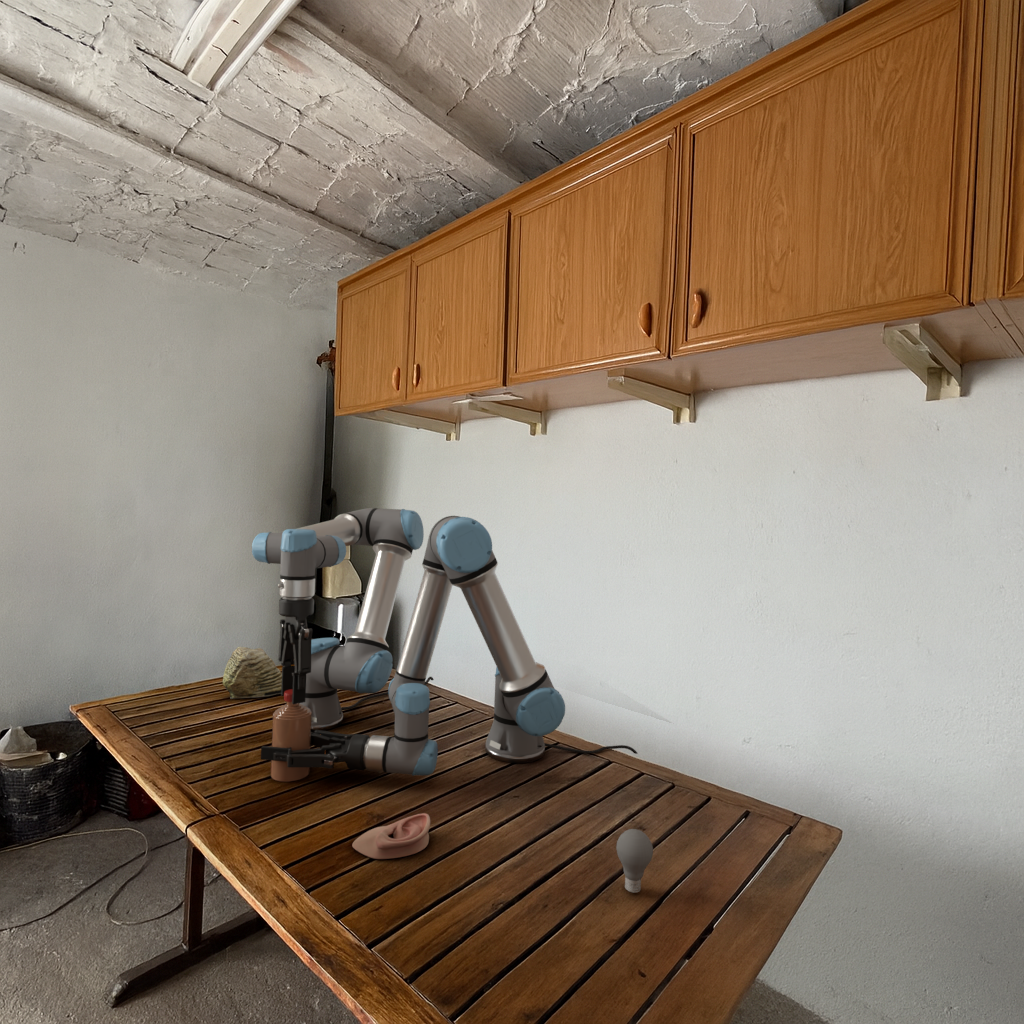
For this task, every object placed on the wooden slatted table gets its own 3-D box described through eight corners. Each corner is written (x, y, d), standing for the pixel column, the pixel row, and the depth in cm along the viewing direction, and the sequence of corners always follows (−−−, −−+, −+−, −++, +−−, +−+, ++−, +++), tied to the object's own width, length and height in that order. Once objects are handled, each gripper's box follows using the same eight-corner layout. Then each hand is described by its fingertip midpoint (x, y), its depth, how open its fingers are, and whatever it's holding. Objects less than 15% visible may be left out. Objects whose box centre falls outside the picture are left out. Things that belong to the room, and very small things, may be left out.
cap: (305, 699, 144) (305, 691, 144) (289, 703, 141) (289, 695, 141) (296, 695, 147) (297, 687, 147) (280, 699, 144) (280, 691, 144)
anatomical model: (345, 832, 112) (372, 802, 124) (344, 854, 113) (371, 822, 124) (415, 843, 110) (436, 812, 121) (414, 866, 110) (436, 832, 121)
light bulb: (610, 879, 108) (613, 822, 108) (644, 879, 109) (647, 822, 109) (619, 902, 102) (622, 840, 102) (655, 901, 103) (658, 840, 103)
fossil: (218, 695, 195) (220, 647, 195) (278, 685, 208) (279, 640, 207) (228, 703, 189) (230, 653, 188) (289, 692, 201) (290, 645, 201)
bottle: (271, 783, 139) (274, 701, 138) (269, 768, 146) (272, 689, 146) (311, 778, 142) (314, 697, 142) (307, 763, 150) (310, 687, 149)
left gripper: (265, 592, 148) (262, 690, 149) (296, 605, 134) (292, 713, 134) (297, 590, 153) (293, 685, 154) (330, 602, 138) (326, 707, 139)
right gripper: (351, 790, 132) (247, 781, 134) (381, 751, 153) (291, 743, 155) (352, 754, 132) (248, 746, 134) (382, 720, 153) (292, 713, 155)
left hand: (293, 698), depth 144 cm, fingers open, 6 cm apart
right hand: (271, 744), depth 144 cm, fingers closed on bottle, 8 cm apart
